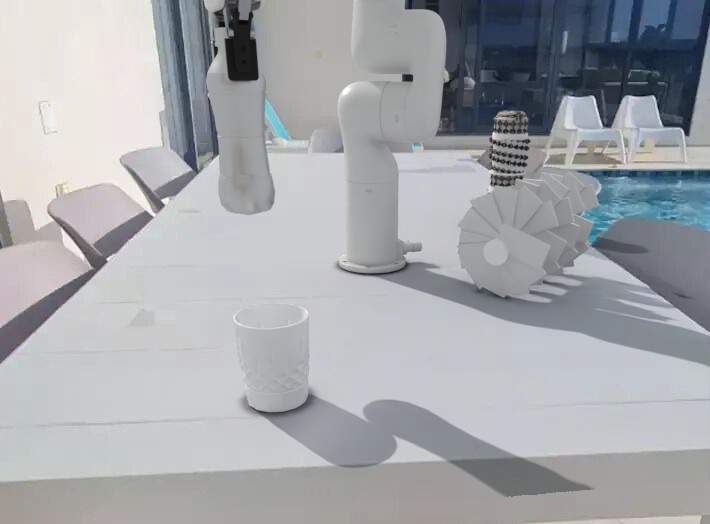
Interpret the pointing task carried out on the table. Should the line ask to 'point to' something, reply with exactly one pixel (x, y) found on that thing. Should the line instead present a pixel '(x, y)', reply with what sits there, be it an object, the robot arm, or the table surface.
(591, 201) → the spiral staircase
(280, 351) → the white cup
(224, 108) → the plastic bottle
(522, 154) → the decorative candle
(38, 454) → the table surface
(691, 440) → the table surface
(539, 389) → the table surface
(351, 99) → the robot arm
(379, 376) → the table surface
